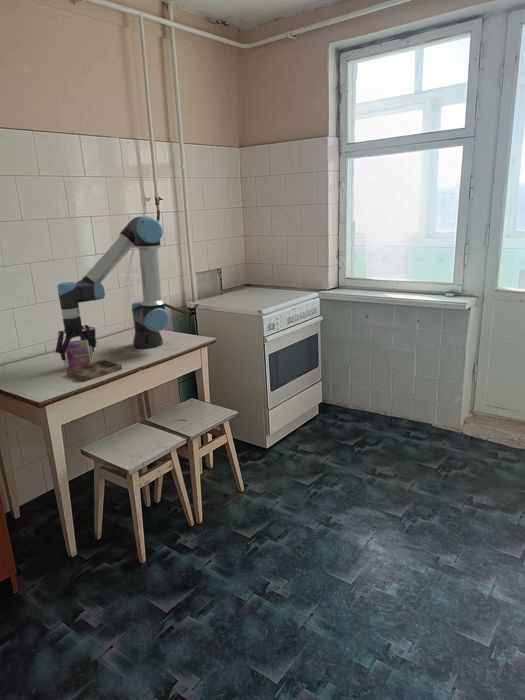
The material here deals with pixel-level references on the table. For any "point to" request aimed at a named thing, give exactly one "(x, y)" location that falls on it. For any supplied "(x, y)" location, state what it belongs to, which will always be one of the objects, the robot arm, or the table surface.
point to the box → (78, 353)
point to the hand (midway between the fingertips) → (79, 362)
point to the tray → (93, 370)
